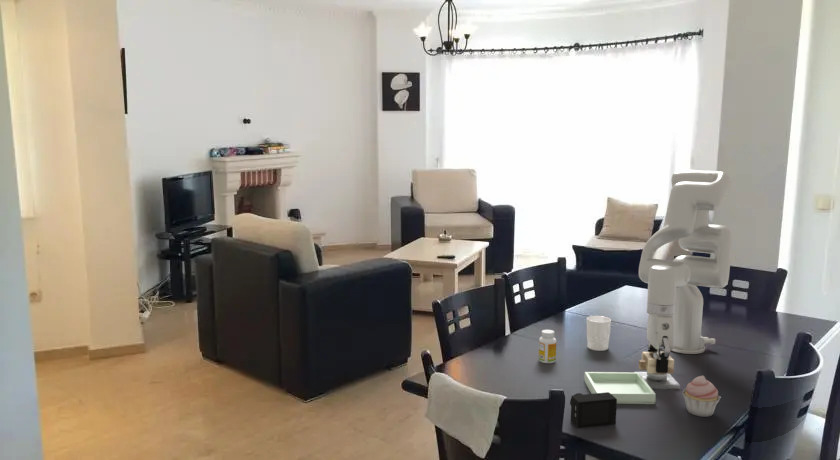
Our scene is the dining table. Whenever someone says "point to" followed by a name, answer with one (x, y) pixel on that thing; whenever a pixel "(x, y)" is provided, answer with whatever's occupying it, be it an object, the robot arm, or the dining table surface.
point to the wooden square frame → (654, 363)
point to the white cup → (598, 332)
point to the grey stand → (659, 379)
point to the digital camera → (593, 409)
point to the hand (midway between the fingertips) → (657, 366)
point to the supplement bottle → (547, 347)
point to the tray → (621, 386)
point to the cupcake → (701, 397)
